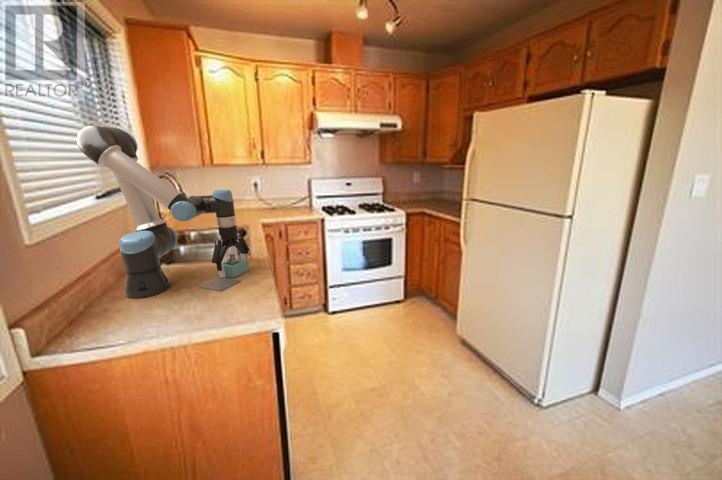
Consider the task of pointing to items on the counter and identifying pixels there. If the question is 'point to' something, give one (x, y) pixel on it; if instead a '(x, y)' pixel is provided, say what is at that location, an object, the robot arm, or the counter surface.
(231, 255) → the stand
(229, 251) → the mug
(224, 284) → the coaster
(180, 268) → the counter surface
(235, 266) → the teal square frame
